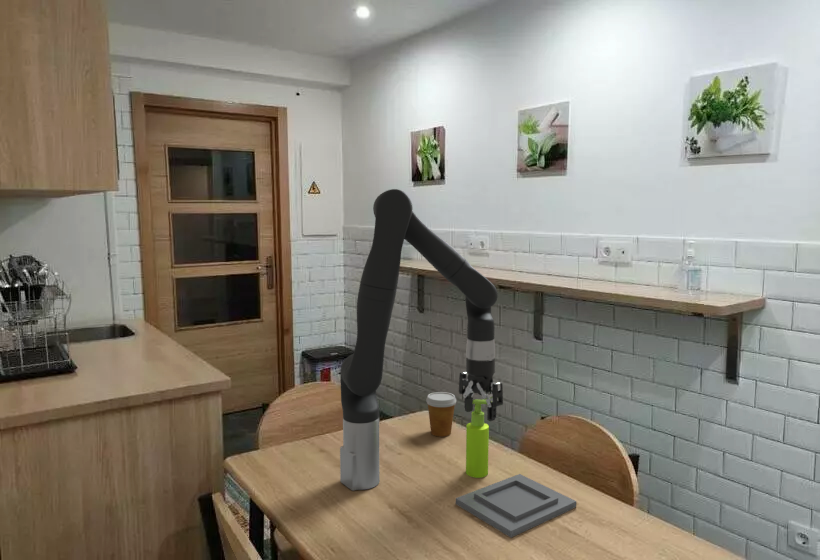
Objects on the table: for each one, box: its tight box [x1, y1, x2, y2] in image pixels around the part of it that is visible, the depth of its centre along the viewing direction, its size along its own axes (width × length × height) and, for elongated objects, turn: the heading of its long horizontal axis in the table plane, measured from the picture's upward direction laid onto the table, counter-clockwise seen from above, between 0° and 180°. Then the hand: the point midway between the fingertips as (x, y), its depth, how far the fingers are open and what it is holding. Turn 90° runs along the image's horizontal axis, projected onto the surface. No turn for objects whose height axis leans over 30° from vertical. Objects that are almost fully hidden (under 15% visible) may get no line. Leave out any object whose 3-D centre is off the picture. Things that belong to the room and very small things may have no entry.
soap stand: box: [455, 473, 577, 538], centre depth 139 cm, size 22×18×2 cm
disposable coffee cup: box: [425, 391, 457, 438], centre depth 184 cm, size 10×10×12 cm
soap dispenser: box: [465, 398, 492, 479], centre depth 155 cm, size 6×7×20 cm
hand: (479, 415), depth 154 cm, fingers open, 8 cm apart
